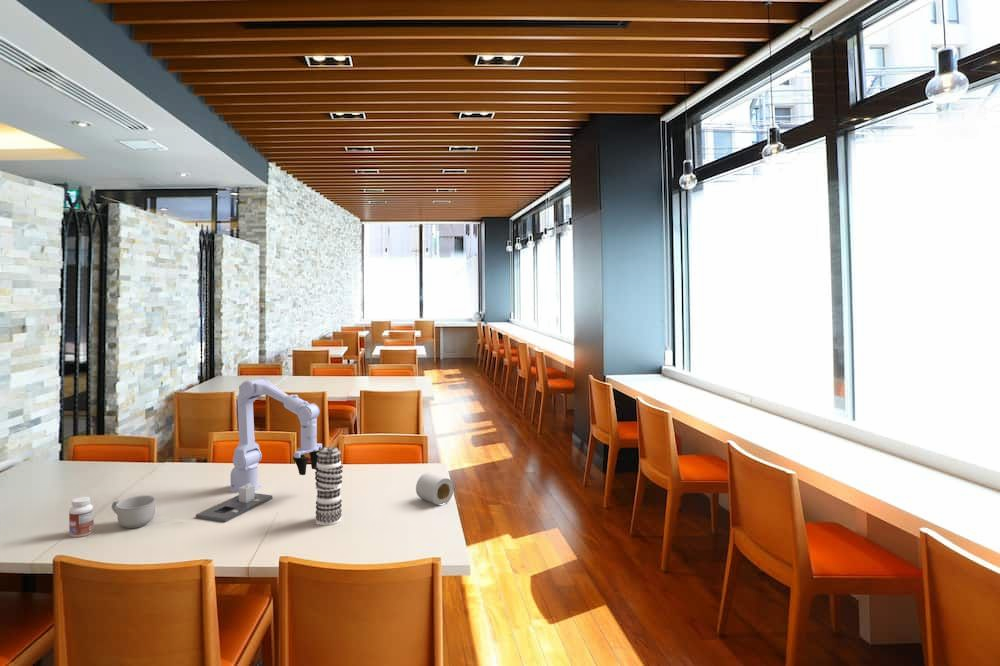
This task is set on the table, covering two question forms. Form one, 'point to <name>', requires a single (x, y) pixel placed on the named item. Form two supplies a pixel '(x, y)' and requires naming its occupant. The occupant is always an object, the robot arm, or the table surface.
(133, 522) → the teacup
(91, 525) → the pill bottle
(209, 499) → the table surface
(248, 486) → the plug
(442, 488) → the toilet paper
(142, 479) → the table surface
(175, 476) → the table surface
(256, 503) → the panel
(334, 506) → the grey patterned cylinder
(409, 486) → the table surface
